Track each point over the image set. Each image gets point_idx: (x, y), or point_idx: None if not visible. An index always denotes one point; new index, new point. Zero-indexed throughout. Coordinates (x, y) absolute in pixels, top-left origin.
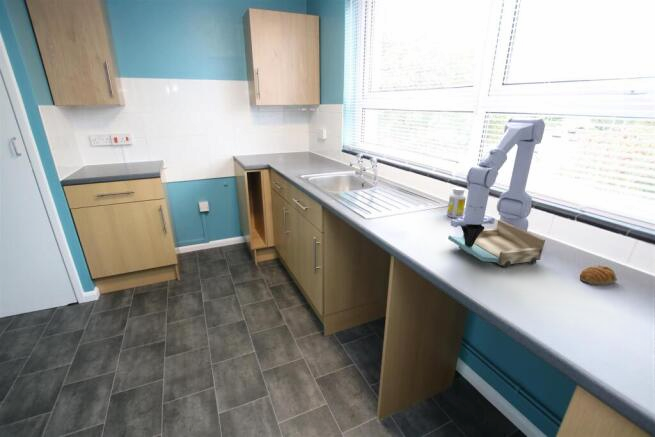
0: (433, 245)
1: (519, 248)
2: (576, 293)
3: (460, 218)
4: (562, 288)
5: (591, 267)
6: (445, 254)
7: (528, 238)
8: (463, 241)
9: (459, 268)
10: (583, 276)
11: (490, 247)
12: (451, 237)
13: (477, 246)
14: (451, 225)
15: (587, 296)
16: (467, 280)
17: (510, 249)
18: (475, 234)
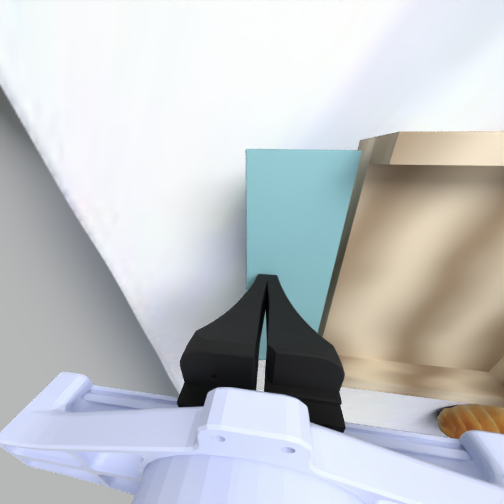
0: (198, 110)
1: (487, 337)
2: (364, 417)
3: (116, 438)
4: (359, 406)
5: None
6: (207, 217)
7: None
8: (288, 232)
9: (201, 301)
10: (448, 425)
11: (373, 298)
12: (246, 179)
13: (323, 278)
14: (65, 377)
15: (371, 425)
16: (189, 340)
17: (437, 331)
18: (265, 368)
